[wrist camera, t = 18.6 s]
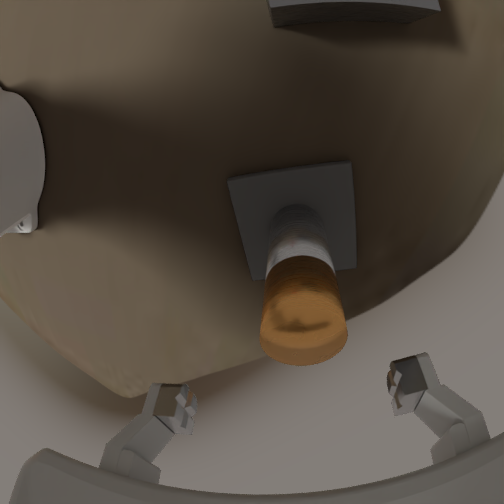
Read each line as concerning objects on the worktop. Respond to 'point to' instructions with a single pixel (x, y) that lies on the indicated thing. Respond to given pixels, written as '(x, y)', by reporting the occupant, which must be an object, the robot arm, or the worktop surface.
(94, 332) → the worktop surface
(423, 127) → the worktop surface
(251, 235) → the pad
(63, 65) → the worktop surface
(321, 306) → the gold and grey cylinder
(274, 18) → the block
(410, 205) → the worktop surface
